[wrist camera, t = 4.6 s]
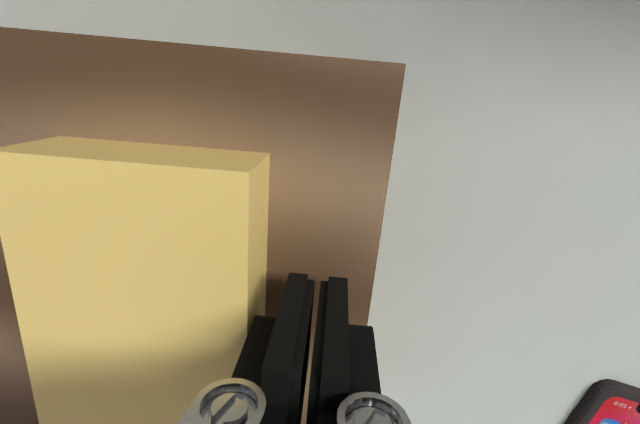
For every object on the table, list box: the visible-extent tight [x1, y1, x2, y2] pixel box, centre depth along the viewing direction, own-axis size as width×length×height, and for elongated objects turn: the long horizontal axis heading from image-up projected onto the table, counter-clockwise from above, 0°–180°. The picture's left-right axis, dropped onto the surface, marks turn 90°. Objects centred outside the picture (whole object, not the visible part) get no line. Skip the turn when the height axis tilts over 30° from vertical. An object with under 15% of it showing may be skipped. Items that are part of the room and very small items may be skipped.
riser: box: [0, 27, 406, 424], centre depth 14 cm, size 14×14×4 cm
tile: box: [0, 136, 270, 424], centre depth 11 cm, size 9×6×2 cm, turn 176°
